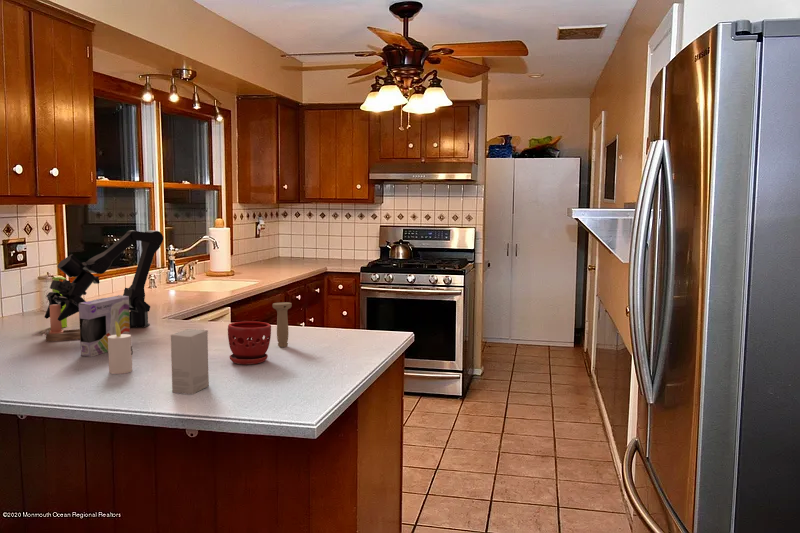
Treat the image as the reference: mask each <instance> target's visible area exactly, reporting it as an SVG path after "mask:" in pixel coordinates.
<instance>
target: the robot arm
mask: <svg viewBox="0 0 800 533" xmlns="http://www.w3.org/2000/svg"><path fill="white" fill-rule="evenodd" d="M137 241H138V242H141V244H140V246H141V253H140V256H139V261H138V262H137V267H136V269H135V274H134V276H133V280H132V282H131V285H130V286H129V287H124V289H123V294H122V296H129V320H130V328H145V327H148V326H150V324H151V323H149V312H150V309H151V305H150V304H148V303H147V302H146V300H145V299H146V294H145V292H146V291H145V285H146V282H147V279H148V275H149V272H150V269H151V267H152V263H153V259H154V256H155V254H156V252H157V251H158V250H159V249H160V247H161V246H162V243H163V242H164V235H163V233H162V232H160V231H158V230H146V231H140V230H139V231H138V230H133V229H132V230H130V229H129V230H128V231H126V233H125V234H124V235H122V236H121V237H120V238H119V239H117V240H116V241H115V242H114V243H113V244H112V245H110V246H109V247H108V248H107V249H106V250H104V251H102V252H101V253H98V254H96V255H94V256H93V257H91V258H89V259H88V260H87V261H85V262H81V261H80V260H79V259H77V257H76V256H75V255H74V254H69V256H67V257H65V258H63V259H62V260H60V262H58V264H57V268H58V269H59V270H60V271H61V272H63V273H64V274H65V275H66V276H67V277H68V278H74V279H73V280H72V282H71V281H70V280H68V279H65V280H62V281H61V280H59V281H57V280H54V279H52V281H51V283H50V286H49V289H51V290H52V289H55V290H58V291H59V293H60V294H61V295H62V296H61V295H60V294H59V293H58V292H52V291H48V293H47V294H46V298H47V300H48V306H47V309H46V312H45V314H44V318H45V319H46V320H47V319H50V306H49V305H54V304H60V305H61V309H62V308H63V307H62V306H64V305H65V304H66V306H65V308H64V310H63V311H62V313H61V314H60V316H59V317H58V320H59V321H61V320H63V319H65V318H69V317H71V316H73V315H75V314H77V313H79V303H82V302H87V300H85V299H84V298H83V297H82V296H86V295H87V292H86V291H87V290H88V289H89V288H90V286H91V285H92V284H95V285H96V284H97V285H99V284H100V283H101V282H100V276H98V275H101V274H102V275H103V274H104V273H106V272H107V270H108V269H109V268H110V267H111V265H112V263H113V261H114V260H115V259H116V258H118V256H120V255H121V254H123V252H124V251H125V250H127V249H128V248H129V247H130V246H131V245H133V244H134V243H135V242H137ZM94 274H98V275H97V276H95V275H94Z"/></svg>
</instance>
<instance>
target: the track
mask: <svg viewBox="0 0 800 533" xmlns="http://www.w3.org/2000/svg"><path fill="white" fill-rule="evenodd" d="M62 330H63V333H58V334H49V332H50V331H51V330H47V329H46V331H45V338H46V339H45V340H46V341H45V343H46V342H47V343H48V342H59V341H70V340H71V341H72V340H73V341H74V340H80V328H76V329H62Z"/></svg>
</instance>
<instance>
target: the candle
mask: <svg viewBox="0 0 800 533" xmlns="http://www.w3.org/2000/svg"><path fill="white" fill-rule="evenodd" d="M115 327H116V335H111V336H108V352H107V353H108V370H109V371H108V372H109V374H112V375H124V374H128V373H130V372H132V371H133V345H132V334H130V335H129V334H121V331H120V327H119V324H118V323H117V322H116V321H115Z"/></svg>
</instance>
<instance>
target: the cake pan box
mask: <svg viewBox="0 0 800 533" xmlns="http://www.w3.org/2000/svg"><path fill="white" fill-rule="evenodd" d="M129 312H130V311H129V296H123V294H118V295H114V296H109V297H101V298H96V299H92V300H88V301H87V300H86V302H82V303H79V312H78V315H79V316H78V318H79V329H80V339H79V340H80V341H79V343H80V356H81V357H88V358H89V357H90V358H91V357H95V356H98V355H101V354H106V353H108V336H111V335H116V327H115V321H116V322H117V323H118V324H119V327H120V331H121V334H129V335H131V327H130V320H129Z"/></svg>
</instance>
